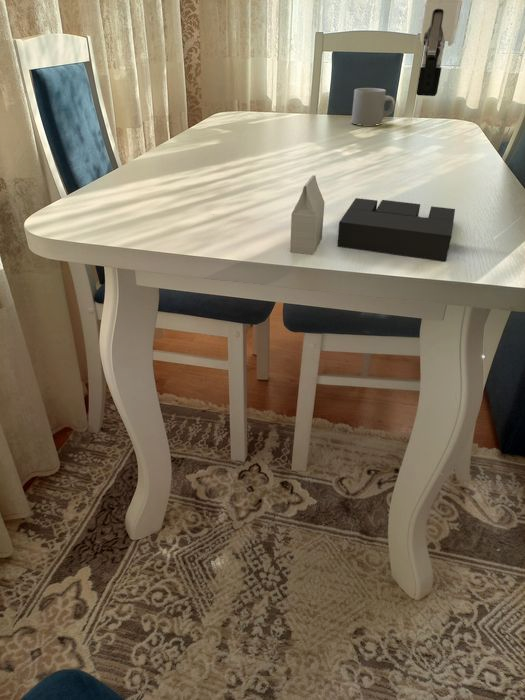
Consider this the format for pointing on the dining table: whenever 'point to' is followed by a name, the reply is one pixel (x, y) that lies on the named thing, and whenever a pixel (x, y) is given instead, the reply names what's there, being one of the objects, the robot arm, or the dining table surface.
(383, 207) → the small pad
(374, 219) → the big black notched block
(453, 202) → the dining table surface
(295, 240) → the grey milk carton
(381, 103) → the coffee mug
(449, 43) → the robot arm
